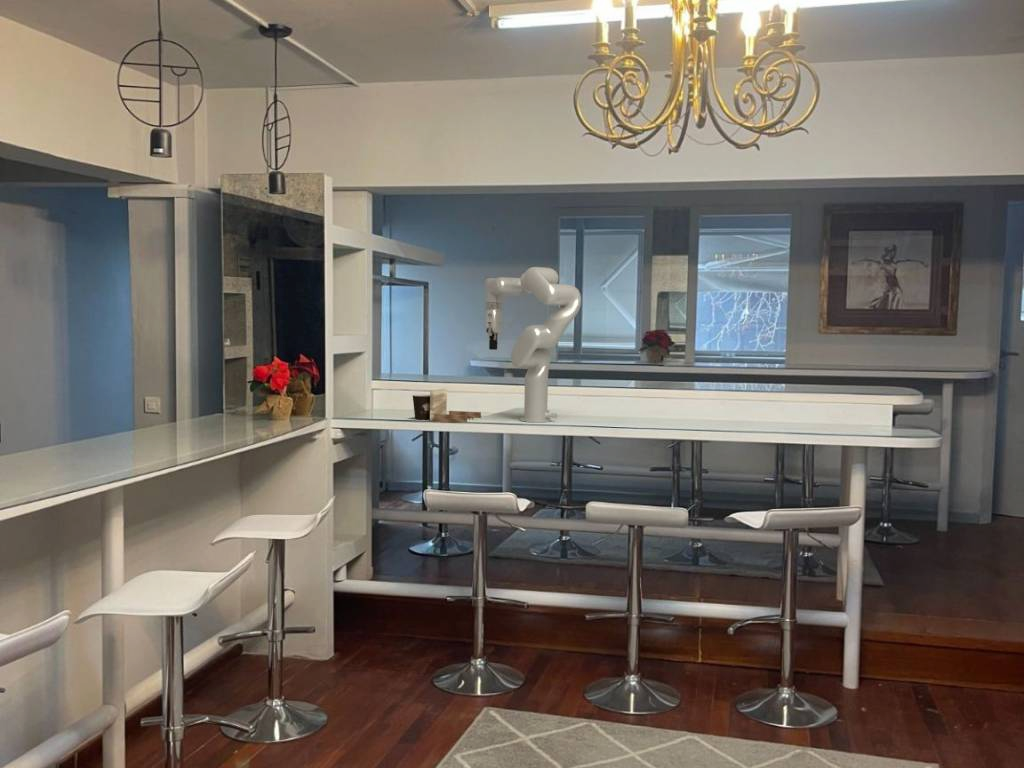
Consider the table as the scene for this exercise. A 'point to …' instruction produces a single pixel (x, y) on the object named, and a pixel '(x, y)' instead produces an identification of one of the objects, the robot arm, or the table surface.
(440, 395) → the ejector plate
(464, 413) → the mug holder
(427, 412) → the coffee mug
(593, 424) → the table surface
